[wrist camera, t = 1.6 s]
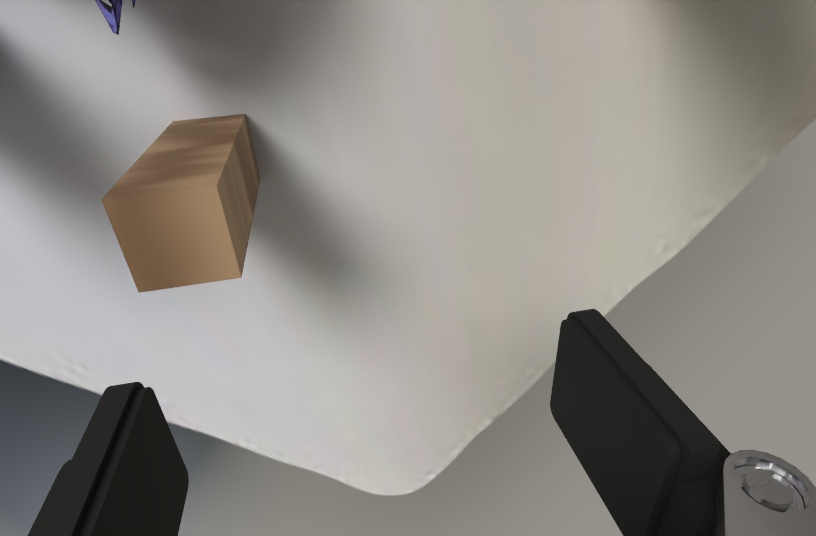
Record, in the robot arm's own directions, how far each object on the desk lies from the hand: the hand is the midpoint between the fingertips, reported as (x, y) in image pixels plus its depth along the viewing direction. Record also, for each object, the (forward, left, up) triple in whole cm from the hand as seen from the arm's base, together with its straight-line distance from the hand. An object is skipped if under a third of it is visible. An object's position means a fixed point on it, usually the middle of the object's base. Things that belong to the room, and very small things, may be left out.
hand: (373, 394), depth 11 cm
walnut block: (+6, 0, -22) cm, 23 cm away
